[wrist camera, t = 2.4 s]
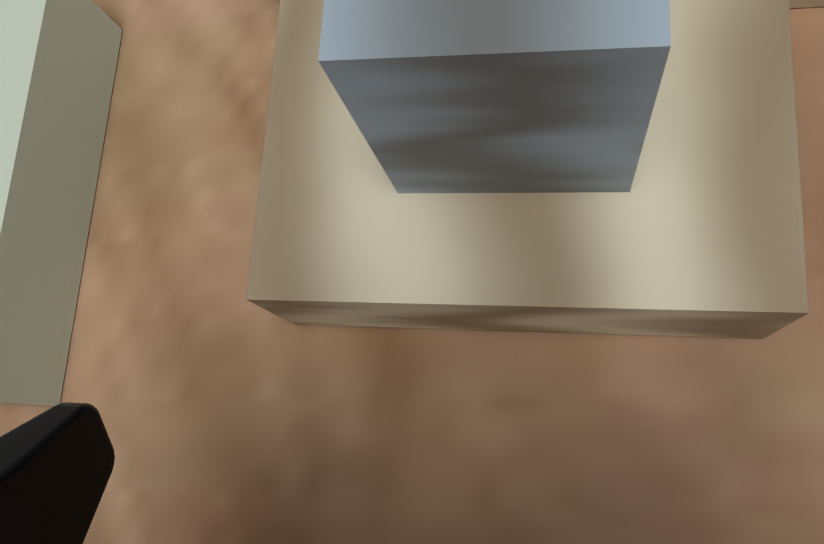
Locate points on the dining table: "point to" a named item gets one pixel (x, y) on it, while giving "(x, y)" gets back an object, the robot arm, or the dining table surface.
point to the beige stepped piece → (550, 206)
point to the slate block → (499, 89)
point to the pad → (47, 180)
